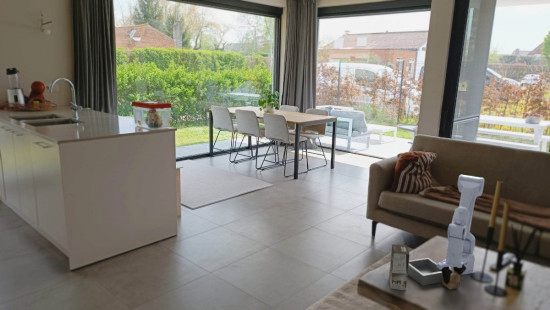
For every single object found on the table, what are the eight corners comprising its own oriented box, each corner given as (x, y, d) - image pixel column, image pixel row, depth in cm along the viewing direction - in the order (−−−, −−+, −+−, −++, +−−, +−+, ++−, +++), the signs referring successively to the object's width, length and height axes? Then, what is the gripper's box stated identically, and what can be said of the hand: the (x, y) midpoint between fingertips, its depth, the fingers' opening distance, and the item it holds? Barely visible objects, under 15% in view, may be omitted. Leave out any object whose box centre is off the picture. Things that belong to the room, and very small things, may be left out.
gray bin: (427, 266, 183) (428, 257, 182) (447, 280, 171) (448, 271, 170) (403, 270, 179) (404, 261, 178) (422, 285, 167) (423, 275, 166)
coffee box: (406, 290, 163) (410, 254, 159) (390, 288, 164) (393, 253, 160) (403, 279, 171) (407, 245, 168) (388, 277, 172) (391, 243, 169)
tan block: (450, 282, 168) (452, 269, 167) (458, 287, 164) (460, 274, 163) (442, 283, 167) (443, 271, 166) (449, 289, 163) (451, 276, 162)
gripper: (447, 258, 156) (443, 289, 159) (476, 253, 161) (472, 284, 164) (434, 250, 163) (431, 280, 166) (463, 246, 167) (459, 275, 170)
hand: (450, 281), depth 165 cm, fingers closed on tan block, 4 cm apart
